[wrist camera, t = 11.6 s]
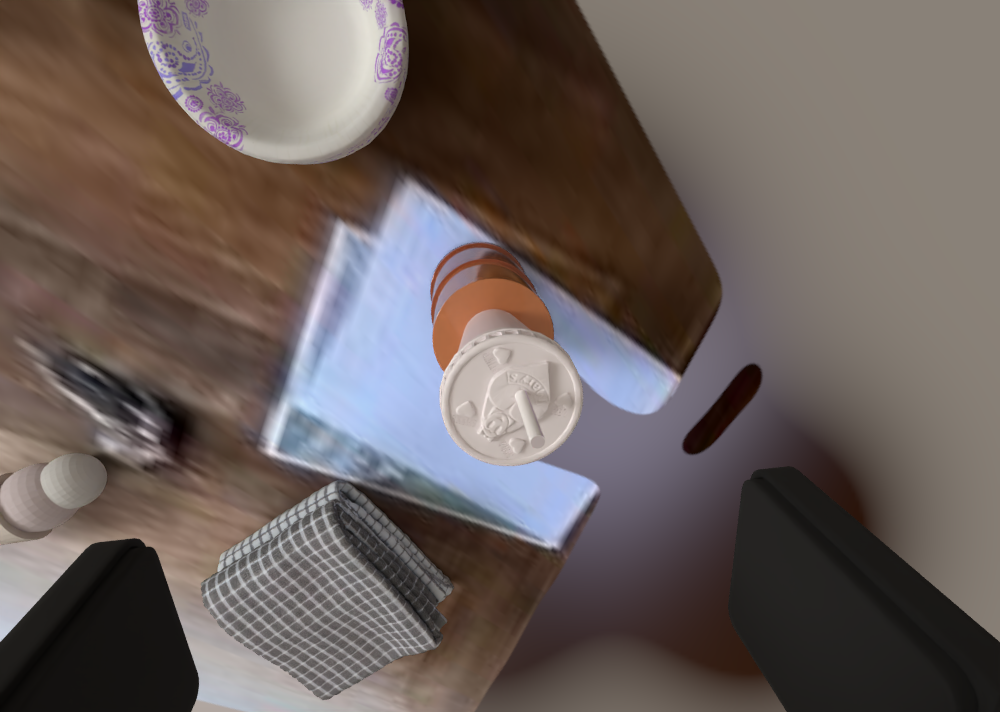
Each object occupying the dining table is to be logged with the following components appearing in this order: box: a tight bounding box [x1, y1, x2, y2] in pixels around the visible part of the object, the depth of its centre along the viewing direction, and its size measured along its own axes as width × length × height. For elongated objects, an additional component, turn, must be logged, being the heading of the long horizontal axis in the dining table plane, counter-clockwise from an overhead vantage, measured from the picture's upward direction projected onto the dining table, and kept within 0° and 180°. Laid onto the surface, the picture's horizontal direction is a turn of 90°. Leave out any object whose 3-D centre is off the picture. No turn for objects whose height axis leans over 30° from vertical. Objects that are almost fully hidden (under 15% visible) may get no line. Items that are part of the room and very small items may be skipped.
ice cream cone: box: [0, 453, 107, 545], centre depth 44 cm, size 6×6×15 cm
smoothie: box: [440, 309, 583, 466], centre depth 26 cm, size 6×6×14 cm
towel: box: [201, 481, 454, 700], centre depth 50 cm, size 15×18×8 cm
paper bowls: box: [138, 0, 409, 164], centre depth 35 cm, size 15×15×8 cm
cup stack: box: [430, 242, 554, 371], centre depth 39 cm, size 8×8×14 cm
